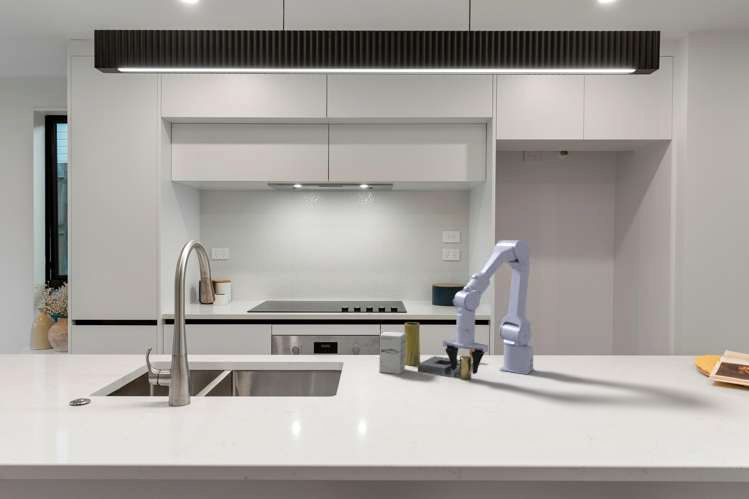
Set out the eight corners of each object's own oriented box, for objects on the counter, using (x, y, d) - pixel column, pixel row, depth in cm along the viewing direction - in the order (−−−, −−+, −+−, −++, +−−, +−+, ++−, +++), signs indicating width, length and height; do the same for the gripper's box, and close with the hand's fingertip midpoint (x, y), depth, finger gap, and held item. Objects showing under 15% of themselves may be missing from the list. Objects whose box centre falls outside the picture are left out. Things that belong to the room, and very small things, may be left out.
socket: (469, 368, 175) (469, 361, 175) (454, 377, 164) (454, 369, 164) (434, 363, 182) (434, 356, 181) (417, 371, 171) (417, 363, 170)
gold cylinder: (473, 378, 163) (473, 356, 163) (468, 380, 160) (469, 358, 160) (462, 376, 165) (462, 354, 165) (458, 378, 162) (458, 357, 162)
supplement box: (378, 372, 169) (378, 334, 168) (384, 367, 176) (385, 330, 175) (400, 374, 167) (400, 336, 166) (405, 369, 174) (406, 332, 173)
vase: (400, 362, 182) (400, 322, 182) (415, 360, 185) (415, 321, 184) (408, 366, 177) (408, 325, 176) (423, 364, 179) (424, 324, 179)
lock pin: (476, 359, 184) (476, 349, 184) (461, 368, 172) (461, 357, 172) (471, 358, 185) (471, 349, 184) (456, 367, 173) (456, 356, 173)
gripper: (439, 328, 163) (438, 370, 163) (483, 333, 155) (481, 378, 155) (448, 325, 169) (447, 365, 169) (490, 330, 161) (489, 372, 161)
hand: (464, 371), depth 163 cm, fingers open, 6 cm apart
